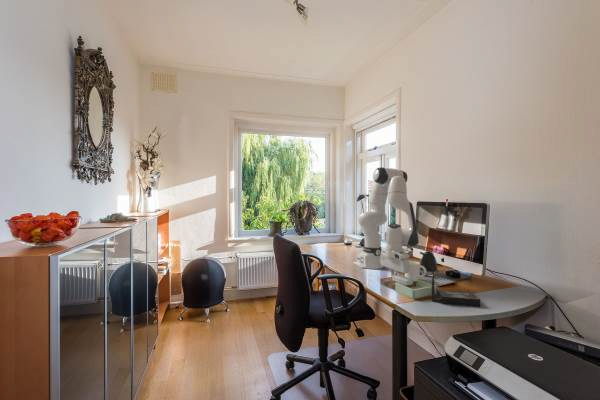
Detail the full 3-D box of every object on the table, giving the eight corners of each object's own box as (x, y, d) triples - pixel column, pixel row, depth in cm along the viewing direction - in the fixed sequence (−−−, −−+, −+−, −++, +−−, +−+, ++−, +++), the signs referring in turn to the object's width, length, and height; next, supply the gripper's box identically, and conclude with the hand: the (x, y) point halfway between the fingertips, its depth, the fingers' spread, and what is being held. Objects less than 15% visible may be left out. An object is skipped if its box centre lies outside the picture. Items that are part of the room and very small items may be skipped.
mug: (425, 278, 173) (425, 261, 173) (427, 283, 166) (427, 265, 165) (404, 277, 177) (404, 260, 177) (404, 281, 169) (405, 263, 169)
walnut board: (380, 283, 164) (380, 278, 164) (399, 280, 170) (399, 275, 170) (396, 291, 152) (396, 285, 152) (416, 287, 158) (416, 282, 158)
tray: (395, 291, 152) (395, 282, 152) (417, 287, 158) (418, 279, 158) (413, 299, 140) (413, 290, 140) (437, 294, 147) (437, 285, 147)
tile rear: (392, 279, 162) (392, 275, 161) (399, 278, 164) (399, 274, 163) (398, 282, 157) (398, 278, 157) (405, 281, 159) (405, 277, 159)
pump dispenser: (418, 272, 188) (419, 249, 187) (436, 273, 184) (436, 250, 184) (419, 276, 178) (420, 252, 178) (438, 278, 175) (438, 253, 174)
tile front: (398, 282, 157) (398, 278, 157) (405, 281, 159) (405, 277, 159) (405, 285, 152) (405, 280, 152) (412, 284, 154) (412, 279, 154)
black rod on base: (470, 298, 143) (471, 264, 143) (481, 309, 130) (482, 271, 129) (427, 295, 148) (427, 261, 147) (433, 305, 134) (434, 269, 134)
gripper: (377, 250, 172) (377, 272, 172) (402, 257, 153) (402, 282, 153) (386, 249, 174) (385, 271, 175) (411, 255, 156) (411, 281, 156)
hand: (393, 277), depth 164 cm, fingers closed
